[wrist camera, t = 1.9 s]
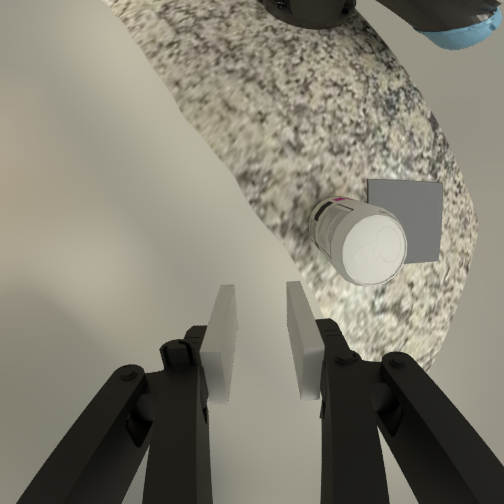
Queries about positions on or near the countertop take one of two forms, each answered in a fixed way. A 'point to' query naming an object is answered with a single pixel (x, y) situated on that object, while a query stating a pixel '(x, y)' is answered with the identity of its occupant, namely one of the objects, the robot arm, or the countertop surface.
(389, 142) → the countertop surface
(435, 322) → the countertop surface
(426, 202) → the mat
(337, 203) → the supplement can
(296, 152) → the countertop surface
